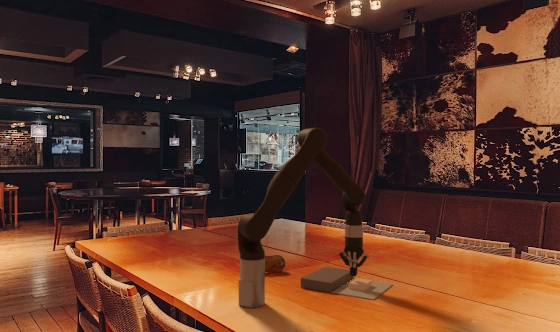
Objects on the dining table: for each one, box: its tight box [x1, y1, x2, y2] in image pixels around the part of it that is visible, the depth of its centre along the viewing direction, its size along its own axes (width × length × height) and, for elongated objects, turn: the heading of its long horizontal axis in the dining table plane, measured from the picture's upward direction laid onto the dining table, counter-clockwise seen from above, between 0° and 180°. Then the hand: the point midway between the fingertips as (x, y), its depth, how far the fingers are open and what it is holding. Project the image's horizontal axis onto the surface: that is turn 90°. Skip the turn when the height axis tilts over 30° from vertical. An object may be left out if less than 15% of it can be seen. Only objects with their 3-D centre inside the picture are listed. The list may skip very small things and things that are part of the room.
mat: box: [331, 277, 394, 301], centre depth 179 cm, size 24×18×1 cm
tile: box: [348, 277, 373, 291], centre depth 180 cm, size 9×7×2 cm
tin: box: [265, 254, 286, 273], centre depth 206 cm, size 15×3×8 cm, turn 105°
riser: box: [300, 265, 355, 294], centre depth 188 cm, size 24×14×4 cm, turn 148°
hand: (353, 276), depth 181 cm, fingers closed
